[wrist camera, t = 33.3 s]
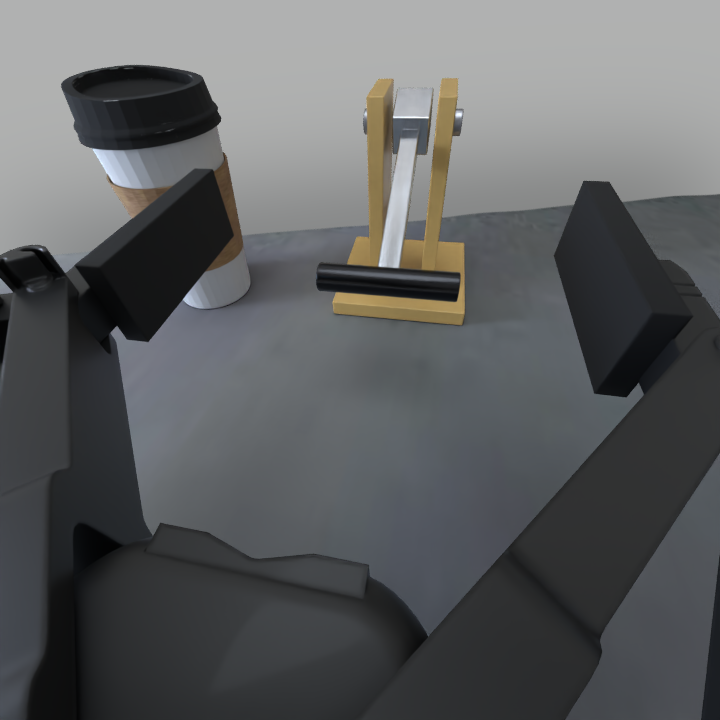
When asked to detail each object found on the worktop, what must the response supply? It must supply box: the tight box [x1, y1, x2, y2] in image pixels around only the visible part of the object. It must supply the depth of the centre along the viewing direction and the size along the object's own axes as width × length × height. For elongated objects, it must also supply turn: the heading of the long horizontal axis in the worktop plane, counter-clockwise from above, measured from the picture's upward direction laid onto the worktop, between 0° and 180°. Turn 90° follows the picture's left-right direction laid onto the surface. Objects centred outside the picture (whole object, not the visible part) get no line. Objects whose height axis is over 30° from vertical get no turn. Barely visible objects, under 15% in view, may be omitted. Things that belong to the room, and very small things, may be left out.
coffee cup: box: [61, 65, 251, 309], centre depth 27 cm, size 8×8×15 cm
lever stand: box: [333, 78, 465, 325], centre depth 27 cm, size 10×10×14 cm
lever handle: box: [316, 88, 461, 302], centre depth 21 cm, size 14×7×2 cm, turn 170°
